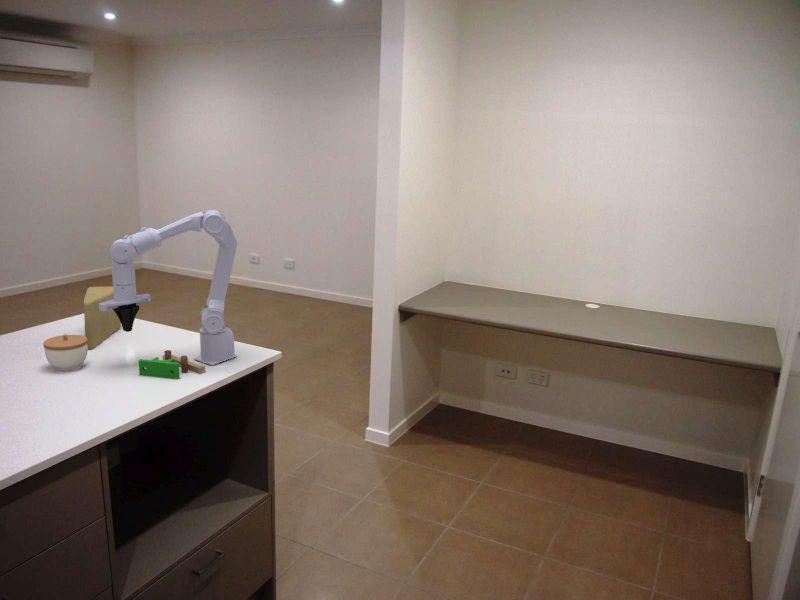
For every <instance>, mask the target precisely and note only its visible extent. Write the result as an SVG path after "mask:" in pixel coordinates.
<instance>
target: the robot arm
mask: <svg viewBox="0 0 800 600" xmlns="http://www.w3.org/2000/svg"><path fill="white" fill-rule="evenodd" d="M231 227H232V226H231V225H230V223H229V221H228V219H227V218H226V217H225V216H224V215H223V214H222V213H221V211H219V210H218V209H215V208H209V209H206V210H204V211H199V212H196V213H193V214H190V215H188V216H185V217H183V218H181V219H178V220H176V221H174V222H172V223H170V224H168V225H166V226H163V227H161V228H159V229H156V228H152V227H148V228H147V227H145V226H144V227H142V228H140V231H138V232H136V233H134V234H131V235H124V236H123V238H121V239H117V240H115V241H114V242H113V243H112V245H111V246H110V248H109V255H110V258H111V266H112V267H111V274H112V275H111V277H112V287H113V292H114V299H111V300H109V301H106V302H103V303H99V310H100V311H107V310H109V309H113V310H114V312H115V313H116V314H117V316H118V318H119V320H120V322H121V328H122V331H123V332H127V333H129V332H132V331H133V327H134V321H135V318H136V316H137V314H138V312H140V311H139V310H140V305H139V304H140V303H145V302H147V303H148V302H149V303H151V301H152V297H151V294H149V293H142V294H137V285H136V268H135V267H136V266H134V256H135V257H136V256H141V255H144V254H146V253H148V252H151V251H153V250H155V249H158V248H160V247H161V245H162V244H163V242H164V241H165V240H167V239H170V238H173V237H175V236H178V235H181V234H183V233H186V232H189V231H193V232H199V233H202V229H203V230H204V232H205V233H207V234H208V236H211V237H213V239H214V240H215V241H216V242H217V245H219V247H218V250H217V256H216V261H215V265H214V268H213V269H214V270H213V273H212V279H211V284H210V288H209V292H208V296H207V299H206V301H205V302H206V303H205V305H204V307H203V308H202V310H200V319H201V327H200V328H199V341H200V342H199V344H200V345H199V347H200V355H199V356H196V357H194V360H195V361H197V362H201V363H203V364H206V365H209V366H215V365H218V364H221V363H224V362H226V360H227V361H229V360H232V359H235V358H237V355H236V354H235V335H234V332H233V331H232V329H231V328H229V327H227V326H225V323H226V322H225V319H224V314H225V313H224V312H225V302H226V297H227V291H228V287H229V282H230V279H231V274H232V269H233V265H234V261H235V260H234V259H235V256H236V252H237V247H238V241H237V239H236V236H235V234H234V232H233V230H232V228H231ZM137 304H138V305H137ZM234 357H235V358H234ZM231 358H232V359H231ZM228 359H229V360H228ZM223 361H224V362H223ZM220 362H221V363H220Z"/></svg>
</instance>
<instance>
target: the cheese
mask: <svg viewBox="0 0 800 600" xmlns="http://www.w3.org/2000/svg"><path fill="white" fill-rule="evenodd" d="M111 299H114V292H113V286H90V287H88V288H87V289H86V293H85V295H84V298H83V315H84V335H85V337H86V338H87V340H88V342H87V346H88V349H92V350H95V347H96V346H97V345H98V346H99V345H100V344H102V343H103V342H105V340H106V339H107V338H109V337H111V335H113V334H114V333H116V332H117V331H119V330H120V329H122V325H121V322H120V320H119V318H118V316H117V314H116V313H115V312H114V310H113V309H109V310H107V311H100V310H99V303H103V302H106V301H109V300H111ZM102 341H103V342H102ZM101 342H102V343H101ZM98 346H97V347H98ZM97 347H96V348H97Z"/></svg>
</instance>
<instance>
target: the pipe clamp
mask: <svg viewBox="0 0 800 600" xmlns="http://www.w3.org/2000/svg"><path fill="white" fill-rule="evenodd" d="M138 371H139V372H138V373H139V374H138V376H142V377H151V378H160V379H161V378H162V379H170V380H179V379H180V367H179V363H174V359H169V360H163V359H159V357H158V356H155V357H154V358H152V359H139V360H138Z"/></svg>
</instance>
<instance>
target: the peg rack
mask: <svg viewBox="0 0 800 600" xmlns="http://www.w3.org/2000/svg"><path fill="white" fill-rule="evenodd" d="M161 358H162V359H161V360H169V359H174V363H179V368H180V372H181V374H185V373H188V372H189V371H190V372H192V373H195V374H198V375H202V374H204V373H206V366H205V365H203V364H200V363H197V362H194V361H192V360H189V359H188V355H181V356H180V357H179V356H176V355H173V354H172V350H170V349H168V350H164V354H162V355H161Z"/></svg>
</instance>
